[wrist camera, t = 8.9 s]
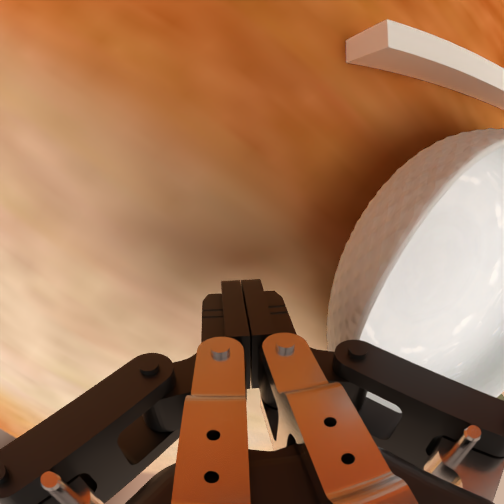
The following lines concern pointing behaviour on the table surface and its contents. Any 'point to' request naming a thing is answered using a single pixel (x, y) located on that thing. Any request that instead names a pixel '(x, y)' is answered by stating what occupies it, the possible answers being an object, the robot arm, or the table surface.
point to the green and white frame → (427, 61)
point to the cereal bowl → (431, 265)
